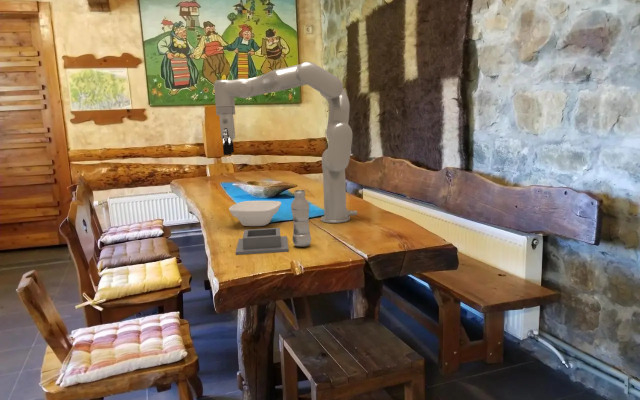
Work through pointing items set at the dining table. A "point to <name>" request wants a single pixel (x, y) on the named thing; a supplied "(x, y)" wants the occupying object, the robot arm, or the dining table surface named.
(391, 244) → the dining table surface
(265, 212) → the bowl
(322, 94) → the robot arm
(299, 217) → the plastic bottle
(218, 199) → the dining table surface
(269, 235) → the gray square tray
